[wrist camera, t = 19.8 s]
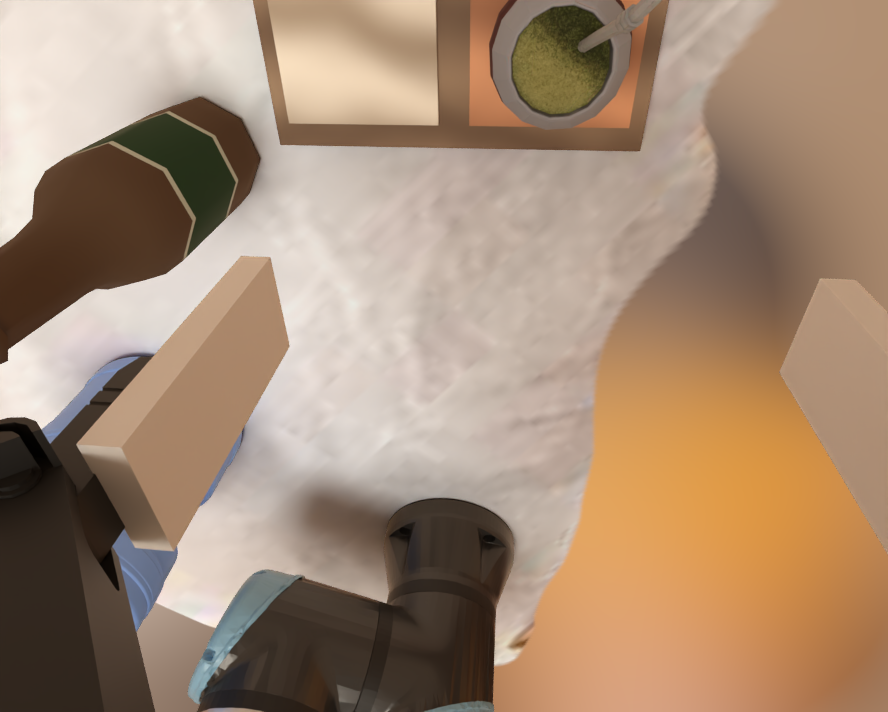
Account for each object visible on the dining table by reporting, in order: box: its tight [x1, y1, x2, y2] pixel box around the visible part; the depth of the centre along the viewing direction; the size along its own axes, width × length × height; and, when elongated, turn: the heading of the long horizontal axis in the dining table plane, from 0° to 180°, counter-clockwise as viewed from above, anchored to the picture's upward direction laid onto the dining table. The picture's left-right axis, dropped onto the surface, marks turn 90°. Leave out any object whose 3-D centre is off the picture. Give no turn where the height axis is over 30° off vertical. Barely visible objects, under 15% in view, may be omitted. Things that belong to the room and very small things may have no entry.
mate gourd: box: [489, 0, 662, 130], centre depth 26 cm, size 8×8×15 cm
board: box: [253, 0, 669, 151], centre depth 34 cm, size 14×24×2 cm, turn 91°
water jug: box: [42, 356, 242, 632], centre depth 48 cm, size 16×16×28 cm
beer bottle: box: [0, 97, 260, 364], centre depth 32 cm, size 8×8×24 cm
